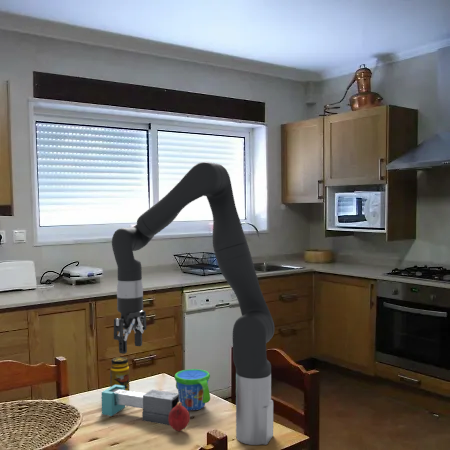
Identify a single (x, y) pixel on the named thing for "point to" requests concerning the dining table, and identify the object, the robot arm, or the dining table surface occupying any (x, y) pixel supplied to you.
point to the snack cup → (193, 388)
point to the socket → (111, 401)
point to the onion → (179, 417)
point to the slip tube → (128, 398)
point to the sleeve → (158, 406)
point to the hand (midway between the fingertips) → (131, 349)
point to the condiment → (119, 372)
